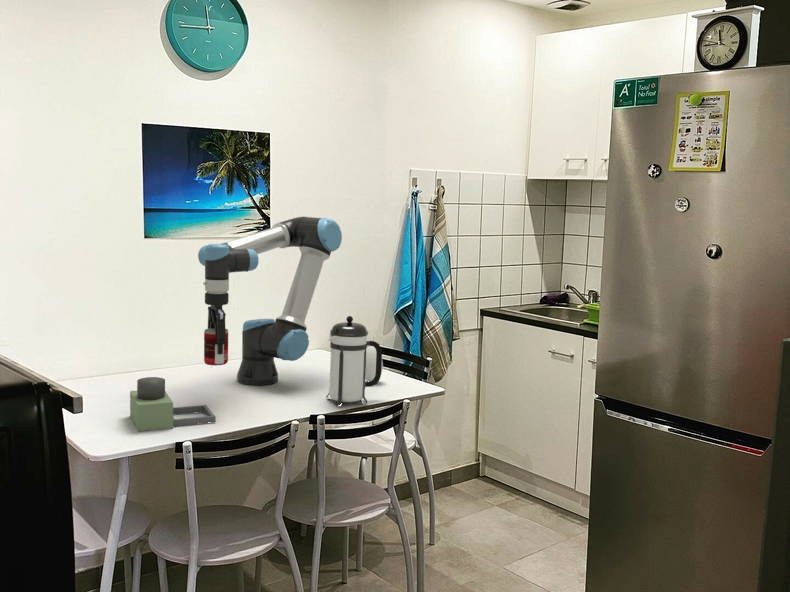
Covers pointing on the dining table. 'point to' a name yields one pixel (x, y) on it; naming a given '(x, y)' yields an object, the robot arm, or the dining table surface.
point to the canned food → (213, 347)
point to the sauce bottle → (371, 363)
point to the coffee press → (350, 362)
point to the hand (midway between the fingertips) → (216, 360)
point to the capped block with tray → (160, 407)
